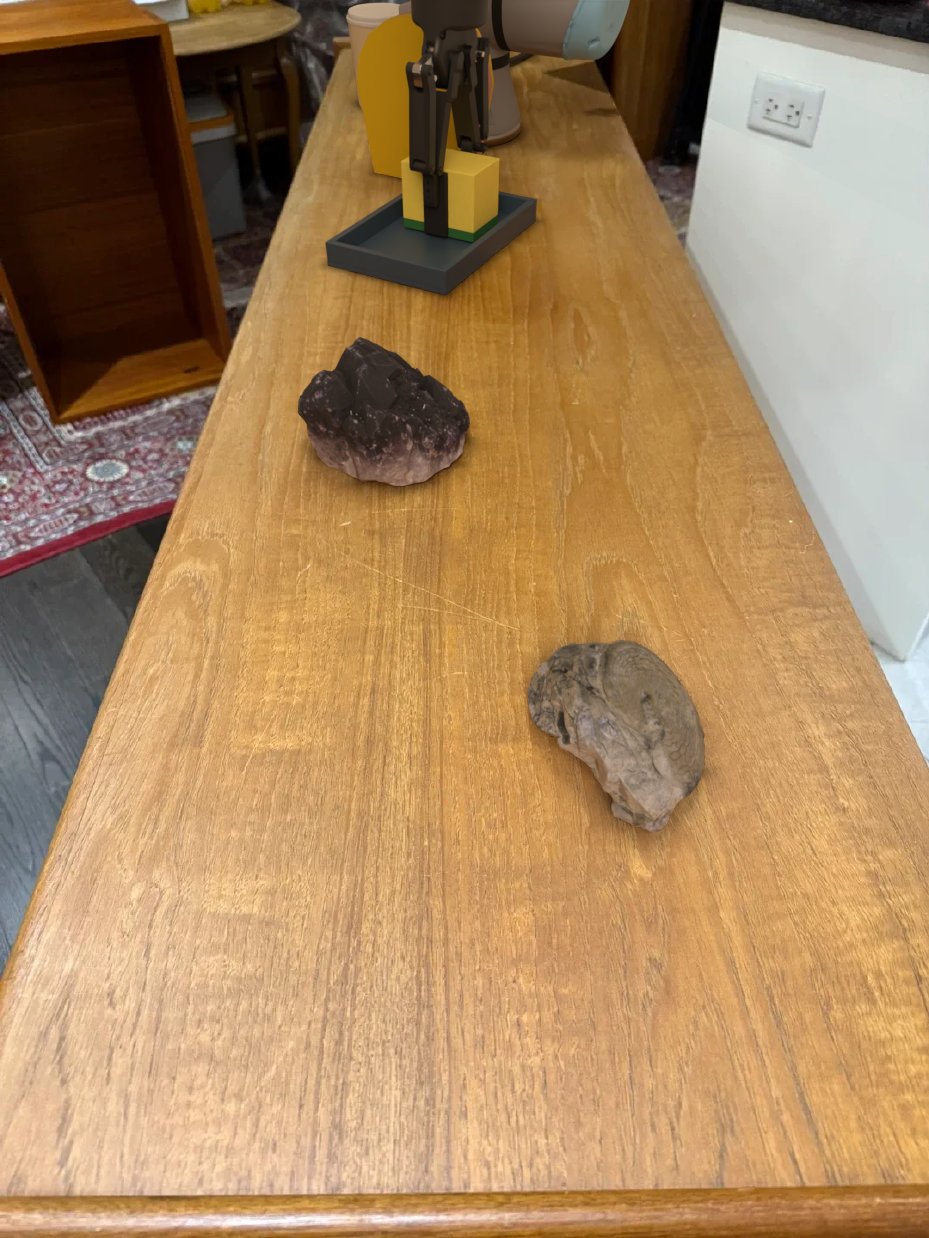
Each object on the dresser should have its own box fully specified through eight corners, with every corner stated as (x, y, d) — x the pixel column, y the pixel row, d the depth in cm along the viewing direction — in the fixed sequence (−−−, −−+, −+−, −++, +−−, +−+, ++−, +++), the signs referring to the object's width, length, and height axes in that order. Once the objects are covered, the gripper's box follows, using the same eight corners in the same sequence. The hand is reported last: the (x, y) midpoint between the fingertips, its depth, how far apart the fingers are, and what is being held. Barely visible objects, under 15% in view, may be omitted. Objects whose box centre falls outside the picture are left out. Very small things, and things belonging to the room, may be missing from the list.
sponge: (429, 209, 104) (428, 144, 99) (497, 223, 101) (499, 158, 96) (403, 227, 100) (400, 161, 95) (473, 242, 97) (474, 175, 92)
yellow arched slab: (493, 169, 114) (498, 0, 101) (464, 190, 109) (465, 15, 96) (395, 151, 119) (387, -13, 106) (363, 170, 114) (350, 1, 101)
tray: (428, 198, 108) (427, 176, 106) (535, 221, 103) (537, 199, 101) (327, 265, 94) (324, 242, 93) (445, 295, 90) (445, 271, 88)
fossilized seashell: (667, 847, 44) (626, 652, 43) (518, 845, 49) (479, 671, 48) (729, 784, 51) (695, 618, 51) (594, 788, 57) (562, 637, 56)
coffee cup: (406, 115, 130) (402, 19, 121) (345, 111, 131) (337, 15, 123) (421, 96, 136) (418, 4, 128) (363, 93, 138) (356, 1, 129)
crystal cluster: (450, 397, 77) (437, 286, 71) (493, 475, 68) (483, 354, 61) (301, 430, 76) (273, 318, 69) (323, 515, 66) (293, 394, 59)
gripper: (434, -2, 76) (438, 261, 93) (528, -38, 88) (517, 201, 105) (361, -11, 79) (378, 246, 95) (462, -45, 91) (461, 190, 107)
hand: (450, 222), depth 100 cm, fingers closed on sponge, 6 cm apart
